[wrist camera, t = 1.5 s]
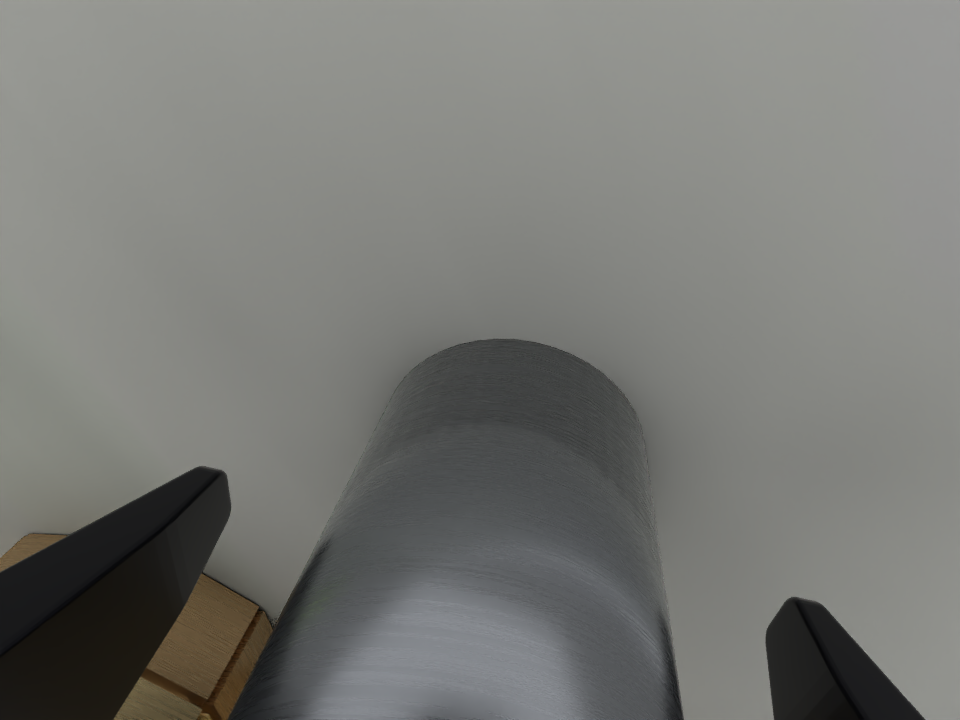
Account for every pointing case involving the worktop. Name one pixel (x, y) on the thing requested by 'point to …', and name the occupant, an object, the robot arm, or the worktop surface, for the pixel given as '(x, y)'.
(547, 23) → the worktop surface
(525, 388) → the hinge pin
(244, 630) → the hinge
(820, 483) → the worktop surface
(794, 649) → the robot arm
